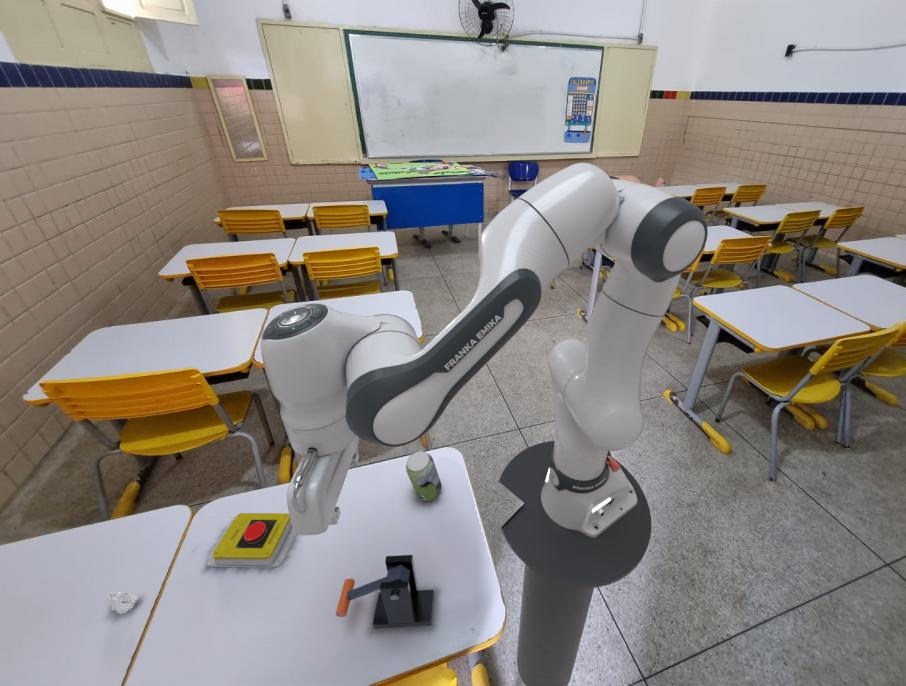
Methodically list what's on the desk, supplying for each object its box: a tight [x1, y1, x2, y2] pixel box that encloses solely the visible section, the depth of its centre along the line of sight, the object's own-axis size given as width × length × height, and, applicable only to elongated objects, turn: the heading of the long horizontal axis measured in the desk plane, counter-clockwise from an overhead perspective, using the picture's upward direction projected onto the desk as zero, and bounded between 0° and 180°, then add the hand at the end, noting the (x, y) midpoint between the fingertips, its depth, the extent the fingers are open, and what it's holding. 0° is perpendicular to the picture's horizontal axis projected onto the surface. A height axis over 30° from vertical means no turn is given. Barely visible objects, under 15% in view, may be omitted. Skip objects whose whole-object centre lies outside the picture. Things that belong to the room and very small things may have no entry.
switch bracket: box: [372, 554, 435, 629], centre depth 65 cm, size 10×6×13 cm, turn 93°
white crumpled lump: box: [106, 591, 139, 615], centre depth 67 cm, size 5×2×4 cm, turn 93°
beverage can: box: [405, 450, 442, 502], centre depth 85 cm, size 6×7×12 cm
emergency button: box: [204, 512, 298, 569], centre depth 77 cm, size 9×4×15 cm
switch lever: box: [335, 565, 410, 618], centre depth 64 cm, size 13×5×2 cm, turn 93°
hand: (343, 489), depth 57 cm, fingers open, 8 cm apart
